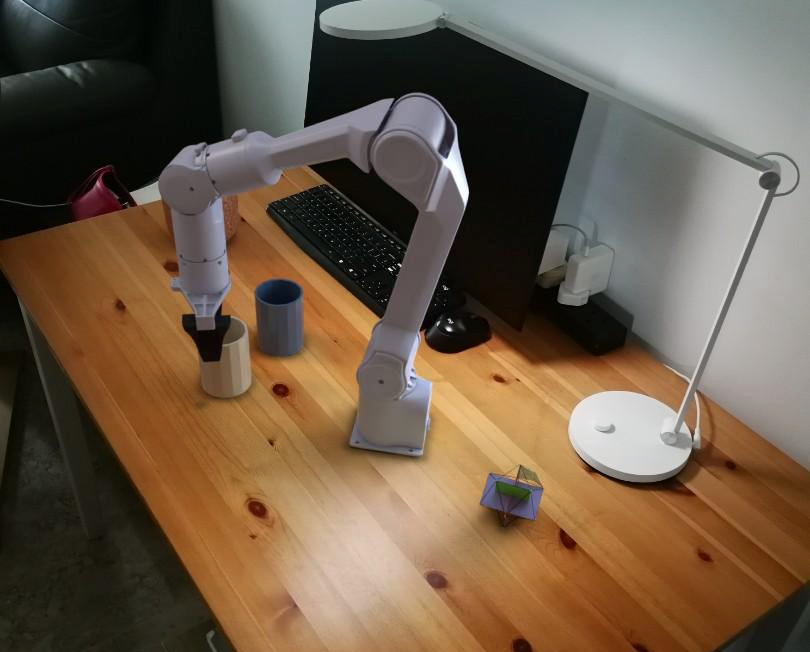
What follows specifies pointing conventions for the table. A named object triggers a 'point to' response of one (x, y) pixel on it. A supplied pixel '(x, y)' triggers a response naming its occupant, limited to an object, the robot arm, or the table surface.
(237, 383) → the cream cup
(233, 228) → the planter
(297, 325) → the blue cup
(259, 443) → the table surface
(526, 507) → the geometric puzzle
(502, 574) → the table surface
